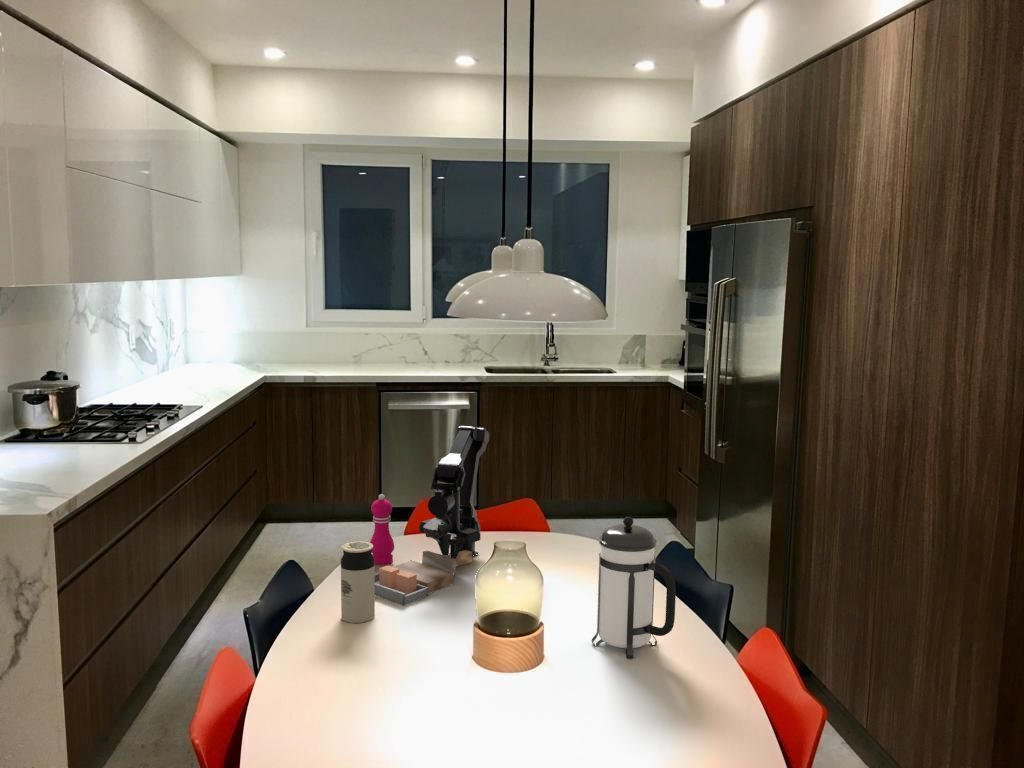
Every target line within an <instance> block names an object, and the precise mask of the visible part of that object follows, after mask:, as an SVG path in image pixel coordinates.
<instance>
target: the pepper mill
mask: <svg viewBox="0 0 1024 768" xmlns="http://www.w3.org/2000/svg"><path fill="white" fill-rule="evenodd" d="M370 511H371V513H372V514H373V516H372V522H373V523H374V531H373V534H372V536H371V539H370V541H369V543H371V544H372V545H373V548H372V552H371V553H372V555H373V557H374V565H376V564H377V566H383V565H384V566H386V565H390V564H392V563H393V560H394V555H393V554H392V553H393V552H394V551H395V542H394V539H393V537H392V535H391V533H390V525H389V524H390V522H391V513H392V512H393V506H392V502H391V501H389V500H388V499H386V496H385V494H383V493H380V494H379V495H378V499H376V500H374V501H373V502H372V503H371V508H370Z"/></svg>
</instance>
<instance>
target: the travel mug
mask: <svg viewBox="0 0 1024 768" xmlns="http://www.w3.org/2000/svg"><path fill="white" fill-rule="evenodd" d="M372 548H373V545H372V544H371V543H370V541H350V542H347V543H344V544H343V545H341V549H342V553H343V554H342V556H341V558H340V597H341V598H340V601H341V602H340V603H341V604H340V605H341V606H340V607H341V609H340V612H341V614H340V615H341V617H340V618H341V619H342V620H343V621H345V622H347V623H351V624H361V623H362V624H363V623H366V622H368V621H371V620H373V619H374V617H376V616H375V615H376V613H375V612H376V610H375V606H376V605H375V603H376V602H375V597H376V596H375V584H374V574H375V564H374V557H373V555H372V553H371V552H372Z"/></svg>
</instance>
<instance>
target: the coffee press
mask: <svg viewBox="0 0 1024 768" xmlns="http://www.w3.org/2000/svg"><path fill="white" fill-rule="evenodd" d="M634 522H635V521H634V519H633V518H632V517H630V516H625V517H624V518H623V521H622V524H613V525H610V526H608V527H607V528H605V529H604V530H602V533H601V535H599V537H598V544H599V546H600V549H599V550H600V552H599V553H598V556H599V557H598V583H597V584H598V586H597V587H598V588H597V591H598V592H597V619H596V620H597V621H596V633H595V634H594V636H593V637H592V639H591V644H592V646H593V647H598V646H599V645H601V644H602V643H603V642H604V643H605V644H607V645H609V646H611V647H615V648H620V649H625V655H626V656H625V657H626V659H633V658H634V649H636V648H640V647H643V646H645V645H646V644H650V646H652V643H655V646H656V645H658V640H657V639H656V637H655V636H657V637H658V636H659V637H661V636H662V637H663V636H666V635H668V634H670V633H671V632H672V630H673V629H674V626H675V625H674V624H675V619H676V597H677V596H676V595H677V594H676V592H677V591H676V589H677V588H676V580H675V578H674V576H673V574H672V573H673V572H671V571H670V570H669V569H668V568H667V567H666V565H663V564H660V563H656V556H655V549H656V547H657V539H656V538H655V536H654V534H653V532H652V531H651V530H649V528H646V527H645V526H644V527H643V526H642V525H637V524H634ZM655 573H656V574H657V573H658V574H659V575H661V577H663V579H664V581H665V585H666V592H665V593H666V596H665V597H666V598H665V599H666V600H665V620H664V621H665V622H664V624H663V626H662V627H658V626H655V625H653V624H654V623H653V622H654V603H655V602H654V597H655V596H654V595H655ZM598 636H599V638H600V639H599V640H598V641H597V642H596V646H595V644H594V643H595V640H596V639H597V637H598ZM651 638H653V639H654V640H655V641H654V642H651V641H650V640H651Z"/></svg>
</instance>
